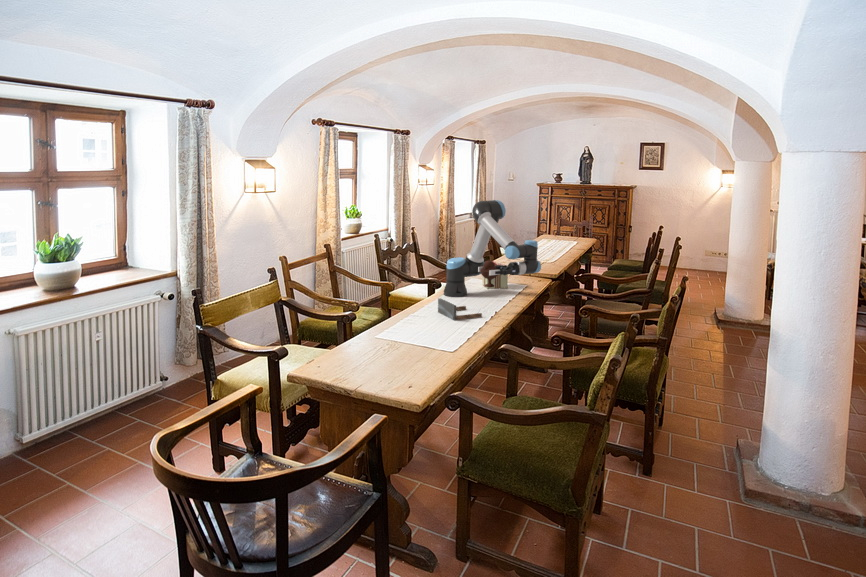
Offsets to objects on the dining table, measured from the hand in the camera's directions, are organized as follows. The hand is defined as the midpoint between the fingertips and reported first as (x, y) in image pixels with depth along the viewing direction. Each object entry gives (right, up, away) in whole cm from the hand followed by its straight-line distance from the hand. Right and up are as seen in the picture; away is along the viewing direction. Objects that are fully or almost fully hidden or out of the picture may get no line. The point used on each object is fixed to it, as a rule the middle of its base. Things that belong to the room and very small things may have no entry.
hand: (484, 271), depth 335 cm
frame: (-13, -24, 0) cm, 28 cm away
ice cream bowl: (+3, -9, +4) cm, 10 cm away
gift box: (+13, -9, +74) cm, 76 cm away
